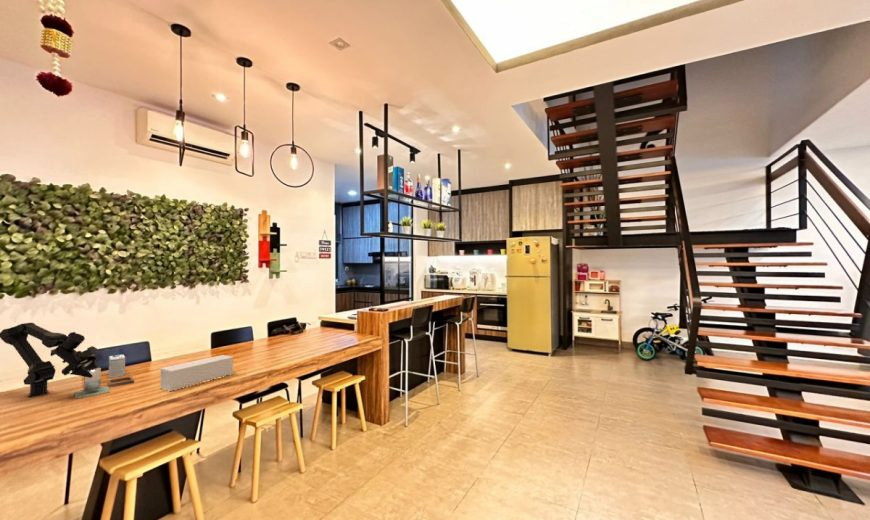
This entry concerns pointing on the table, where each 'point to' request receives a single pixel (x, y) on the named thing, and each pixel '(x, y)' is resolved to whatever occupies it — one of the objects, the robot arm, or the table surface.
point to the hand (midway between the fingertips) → (95, 375)
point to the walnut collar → (120, 382)
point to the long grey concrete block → (195, 372)
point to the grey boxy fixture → (116, 366)
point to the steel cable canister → (92, 380)
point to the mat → (91, 392)
